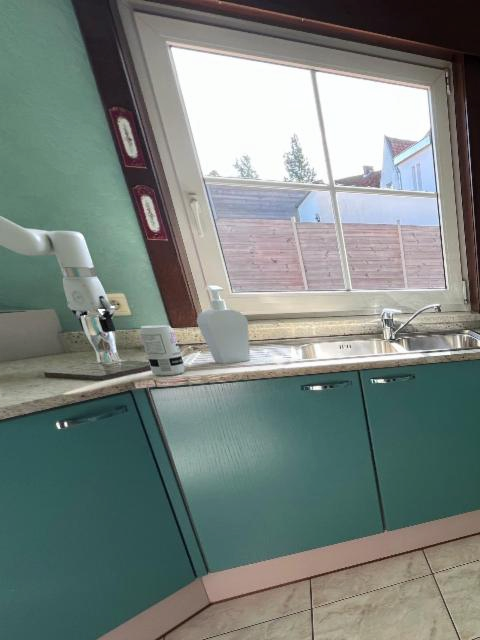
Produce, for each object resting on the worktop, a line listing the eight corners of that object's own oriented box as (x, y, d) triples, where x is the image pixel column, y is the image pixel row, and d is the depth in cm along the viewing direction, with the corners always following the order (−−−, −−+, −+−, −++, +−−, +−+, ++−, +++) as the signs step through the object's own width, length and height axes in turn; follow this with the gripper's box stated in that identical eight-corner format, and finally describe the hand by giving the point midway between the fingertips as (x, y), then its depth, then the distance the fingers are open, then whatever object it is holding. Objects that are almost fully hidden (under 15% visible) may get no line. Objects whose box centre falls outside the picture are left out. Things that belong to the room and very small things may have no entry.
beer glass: (96, 364, 160) (79, 317, 154) (94, 361, 164) (78, 315, 158) (125, 361, 164) (110, 315, 159) (122, 358, 169) (107, 313, 163)
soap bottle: (242, 356, 185) (225, 284, 175) (257, 359, 180) (239, 286, 171) (205, 361, 175) (184, 285, 165) (219, 365, 170) (198, 287, 161)
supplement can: (149, 373, 157) (133, 326, 151) (180, 369, 163) (167, 323, 157) (157, 377, 152) (142, 328, 147) (190, 373, 159) (176, 326, 153)
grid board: (45, 376, 150) (43, 371, 149) (113, 363, 168) (111, 359, 168) (102, 380, 148) (101, 375, 147) (165, 366, 166) (164, 362, 166)
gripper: (41, 273, 151) (63, 331, 158) (90, 275, 149) (110, 334, 156) (68, 272, 158) (88, 328, 165) (116, 274, 156) (134, 330, 163)
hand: (99, 330), depth 160 cm, fingers closed on beer glass, 7 cm apart
